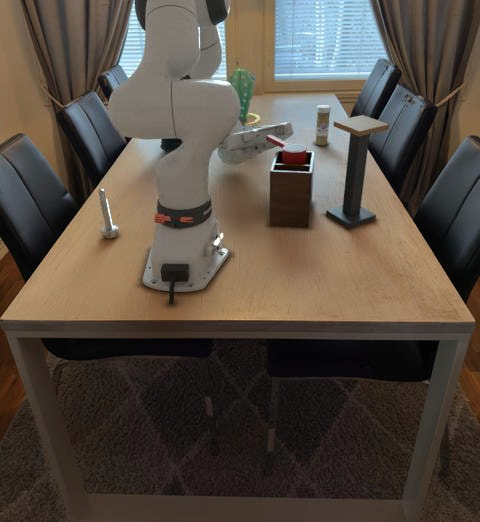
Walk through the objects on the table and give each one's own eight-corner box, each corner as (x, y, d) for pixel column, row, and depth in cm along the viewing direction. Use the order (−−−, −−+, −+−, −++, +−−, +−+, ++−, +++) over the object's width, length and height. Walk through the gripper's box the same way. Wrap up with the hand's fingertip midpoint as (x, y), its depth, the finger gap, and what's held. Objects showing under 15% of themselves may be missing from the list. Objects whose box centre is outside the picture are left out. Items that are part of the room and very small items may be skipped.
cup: (309, 180, 122) (311, 148, 117) (290, 186, 120) (291, 153, 115) (277, 162, 133) (277, 132, 128) (259, 167, 131) (259, 136, 126)
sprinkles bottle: (318, 146, 168) (320, 108, 161) (312, 142, 172) (315, 104, 164) (329, 144, 169) (332, 106, 162) (324, 140, 173) (327, 103, 165)
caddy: (308, 228, 119) (312, 173, 111) (269, 225, 121) (269, 171, 113) (311, 203, 131) (314, 151, 123) (275, 201, 133) (276, 150, 124)
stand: (375, 219, 122) (389, 124, 108) (348, 229, 118) (359, 131, 105) (352, 206, 129) (362, 114, 115) (325, 215, 125) (333, 121, 111)
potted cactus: (267, 143, 172) (268, 71, 159) (228, 149, 168) (225, 76, 154) (251, 131, 185) (250, 63, 171) (214, 136, 180) (209, 67, 166)
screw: (97, 237, 119) (112, 229, 122) (109, 243, 116) (124, 235, 119) (86, 189, 112) (103, 183, 115) (98, 195, 109) (115, 187, 112)
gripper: (214, 138, 133) (234, 124, 120) (275, 125, 141) (299, 111, 129) (220, 160, 134) (241, 149, 121) (280, 145, 142) (305, 134, 129)
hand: (271, 129), depth 125 cm, fingers open, 8 cm apart
